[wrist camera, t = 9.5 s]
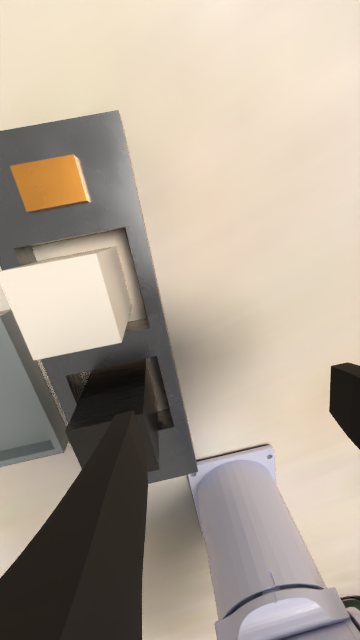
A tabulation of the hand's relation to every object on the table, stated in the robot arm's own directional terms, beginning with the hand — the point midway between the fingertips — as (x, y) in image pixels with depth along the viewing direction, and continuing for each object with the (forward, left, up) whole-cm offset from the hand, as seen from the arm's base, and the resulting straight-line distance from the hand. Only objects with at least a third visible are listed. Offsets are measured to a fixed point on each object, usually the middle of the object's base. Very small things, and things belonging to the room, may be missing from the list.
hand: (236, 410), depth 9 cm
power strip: (0, +6, -9) cm, 11 cm away
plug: (+4, +6, -10) cm, 12 cm away
